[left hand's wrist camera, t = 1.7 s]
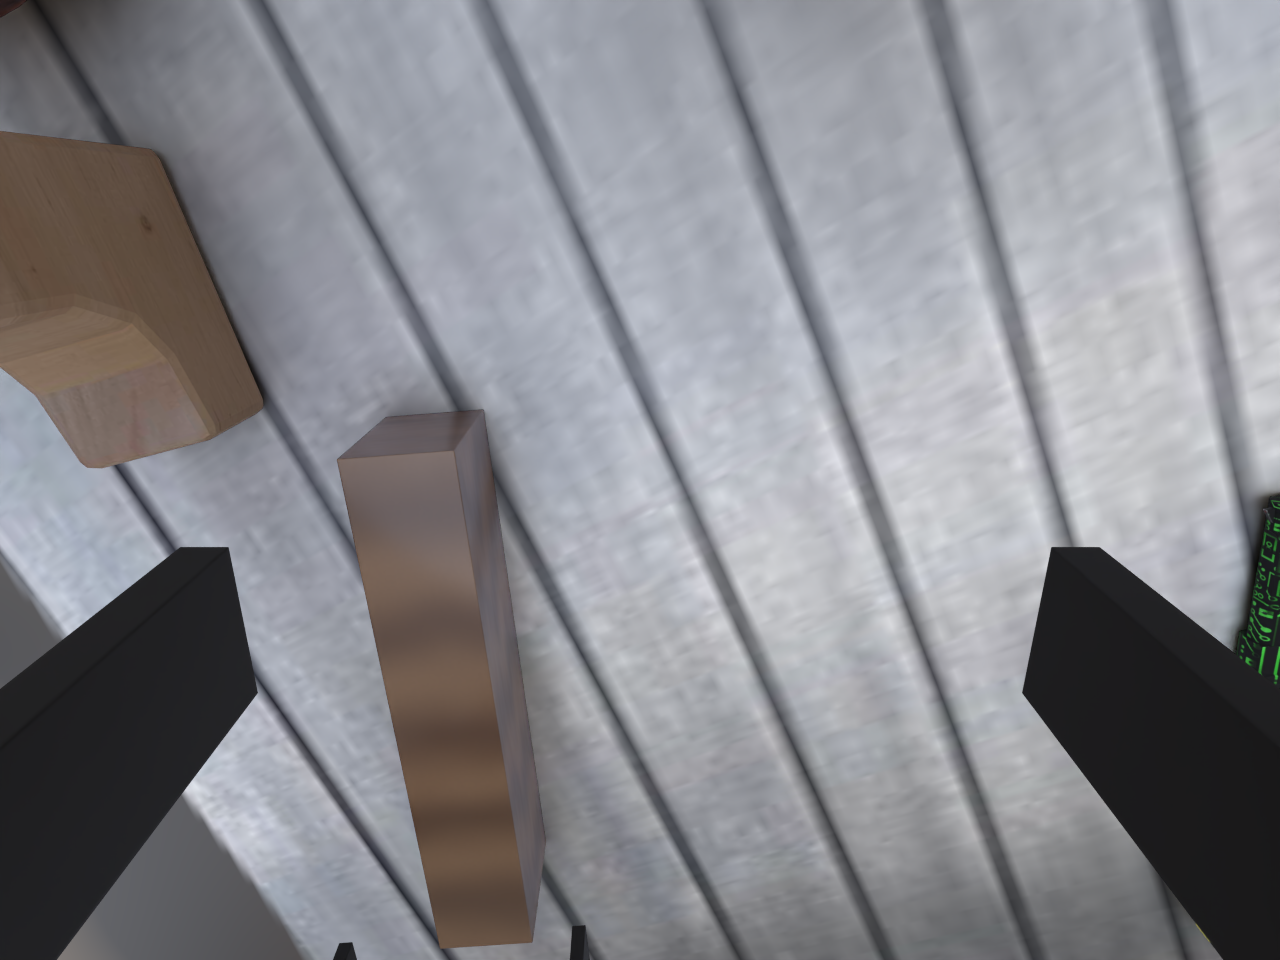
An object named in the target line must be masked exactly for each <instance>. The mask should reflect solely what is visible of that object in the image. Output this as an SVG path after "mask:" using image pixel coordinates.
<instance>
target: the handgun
mask: <svg viewBox="0 0 1280 960" xmlns="http://www.w3.org/2000/svg"><path fill="white" fill-rule="evenodd" d="M1263 511H1264V513H1265V515H1266V521H1265V527H1264V534H1263V540H1262V545H1261V551H1260V557H1259V562H1258V568H1257V573H1256V579H1255V585H1254V590H1253V596H1252V602H1251V608H1250V614H1249V621H1248V627H1247V630H1243V631H1240V632H1239V639H1238V645H1237V652H1236V655H1237V656H1238V657H1240V658H1241V659H1242V660H1244V661H1245V662H1246V663H1247V664H1249V665H1250V666H1251V667H1252V668H1254V669H1255V670H1256V671H1257V672H1259V673H1260V674H1261V675H1263V676H1264V677H1265V678H1266V679H1268V680H1269V681H1270V682H1271V683H1273V684H1274V685H1275V686H1277V687H1278V688H1279V689H1280V495H1277V496H1274V497H1272V496H1270V498H1269V503H1268V508H1265V509H1263Z"/></svg>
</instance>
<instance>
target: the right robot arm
mask: <svg viewBox="0 0 1280 960" xmlns="http://www.w3.org/2000/svg"><path fill="white" fill-rule="evenodd" d="M333 960H357V958H356V955H355V951H354V947H353V943H352V942H350V943H339V946H338V948H337V951H336V953H335V956H334V959H333ZM570 960H590V958H589V950H588V942H587V935H586V927H585V925H584V926H572V939H571V953H570Z"/></svg>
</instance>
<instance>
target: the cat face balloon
mask: <svg viewBox="0 0 1280 960" xmlns="http://www.w3.org/2000/svg"><path fill="white" fill-rule="evenodd" d="M26 1H27V0H0V18H1V17H2V16H4V15H6V14H8V13H9V12H11V11H13V10H14V9H16V8H18V7H19V6H20V5H22V4H23V3H24V2H26Z"/></svg>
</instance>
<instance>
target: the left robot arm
mask: <svg viewBox="0 0 1280 960" xmlns="http://www.w3.org/2000/svg"><path fill="white" fill-rule="evenodd" d="M257 693H258V692H257V687H256V682H255V677H254V672H253V667H252V662H251V657H250V652H249V647H248V642H247V637H246V632H245V627H244V622H243V617H242V612H241V607H240V602H239V597H238V592H237V587H236V582H235V577H234V572H233V567H232V562H231V557H230V552H229V547H180V548H179V549H178V550H176V551H175V552H174V553H172V554H171V555H170V556H169V557H167V558H166V559H165V560H164V561H162V562H161V563H160V564H159V565H157V566H156V567H155V568H153V569H152V570H151V571H150V572H148V573H147V574H146V575H145V576H143V577H142V578H141V579H139V580H138V581H137V582H136V583H134V584H133V585H132V586H131V587H129V588H128V589H127V590H125V591H124V592H123V593H122V594H120V595H119V596H118V597H117V598H115V599H114V600H113V601H111V602H110V603H109V604H108V605H106V606H105V607H104V608H103V609H101V610H100V611H99V612H98V613H96V614H95V615H94V616H92V617H91V618H90V619H89V620H87V621H86V622H85V623H84V624H82V625H81V626H80V627H78V628H77V629H76V630H75V631H73V632H72V633H71V634H70V635H68V636H67V637H66V638H64V639H63V640H62V641H61V642H59V643H58V644H57V645H56V646H54V647H53V648H52V649H50V650H49V651H48V652H47V653H45V654H44V655H43V656H42V657H40V658H39V659H38V660H36V661H35V662H34V663H33V664H31V665H30V666H29V667H28V668H26V669H25V670H24V671H23V672H21V673H20V674H19V675H17V676H16V677H15V678H14V679H12V680H11V681H10V682H9V683H7V684H6V685H5V686H3V687H2V688H1V689H0V960H57V959H58V957H59V956H60V955H61V953H62V952H63V951H64V949H65V948H66V947H67V945H68V944H69V943H70V941H71V940H72V939H73V937H74V936H75V935H76V933H77V932H78V931H79V929H80V928H81V927H82V925H83V924H84V923H85V921H86V920H87V919H88V917H89V916H90V915H91V914H92V912H93V911H94V910H95V908H96V907H97V906H98V904H99V903H100V902H101V900H102V899H103V898H104V896H105V895H106V894H107V892H108V891H109V890H110V888H111V887H112V886H113V884H114V883H115V882H116V880H117V879H118V878H119V876H120V875H121V874H122V872H123V871H124V870H125V868H126V867H127V866H128V864H129V863H130V862H131V860H132V859H133V858H134V856H135V855H136V854H137V852H138V851H139V850H140V848H141V847H142V846H143V844H144V843H145V842H146V841H147V839H148V838H149V837H150V835H151V834H152V833H153V831H154V830H155V829H156V827H157V826H158V825H159V823H160V822H161V821H162V819H163V818H164V817H165V815H166V814H167V813H168V811H169V810H170V809H171V807H172V806H173V805H174V803H175V802H176V801H177V799H178V798H179V797H180V795H181V794H182V793H183V791H184V790H185V789H186V787H187V786H188V785H189V783H190V782H191V781H192V780H193V778H194V777H195V776H196V774H197V773H198V772H199V770H200V769H201V768H202V766H203V765H204V764H205V762H206V761H207V760H208V758H209V757H210V756H211V754H212V753H213V752H214V750H215V749H216V748H217V746H218V745H219V744H220V742H221V741H222V740H223V738H224V737H225V736H226V734H227V733H228V732H229V730H230V729H231V728H232V726H233V725H234V724H235V722H236V721H237V720H238V718H239V717H240V716H241V714H242V713H243V712H244V711H245V709H246V708H247V707H248V705H249V704H250V703H251V701H252V700H253V699H254V697H255V696H256V695H257ZM1022 693H1023V695H1024V696H1025V697H1026V699H1027V700H1028V701H1029V703H1030V704H1031V705H1032V707H1033V708H1034V709H1035V711H1036V712H1037V713H1038V714H1039V716H1040V717H1041V718H1042V720H1043V721H1044V722H1045V724H1046V725H1047V726H1048V728H1049V729H1050V730H1051V732H1052V733H1053V734H1054V736H1055V737H1056V738H1057V740H1058V741H1059V742H1060V744H1061V745H1062V746H1063V748H1064V749H1065V750H1066V752H1067V753H1068V754H1069V756H1070V757H1071V758H1072V760H1073V761H1074V762H1075V764H1076V765H1077V766H1078V768H1079V769H1080V770H1081V772H1082V773H1083V774H1084V776H1085V777H1086V778H1087V780H1088V781H1089V782H1090V783H1091V785H1092V786H1093V787H1094V789H1095V790H1096V791H1097V793H1098V794H1099V795H1100V797H1101V798H1102V799H1103V801H1104V802H1105V803H1106V805H1107V806H1108V807H1109V809H1110V810H1111V811H1112V813H1113V814H1114V815H1115V817H1116V818H1117V819H1118V821H1119V822H1120V823H1121V825H1122V826H1123V827H1124V829H1125V830H1126V831H1127V833H1128V834H1129V835H1130V837H1131V838H1132V839H1133V841H1134V842H1135V843H1136V845H1137V846H1138V847H1139V849H1140V850H1141V851H1142V852H1143V854H1144V855H1145V856H1146V858H1147V859H1148V860H1149V862H1150V863H1151V864H1152V866H1153V867H1154V868H1155V870H1156V871H1157V872H1158V874H1159V875H1160V876H1161V878H1162V879H1163V880H1164V882H1165V883H1166V884H1167V886H1168V887H1169V888H1170V890H1171V891H1172V892H1173V894H1174V895H1175V896H1176V898H1177V899H1178V900H1179V902H1180V903H1181V904H1182V906H1183V907H1184V908H1185V910H1186V911H1187V912H1188V914H1189V915H1190V916H1191V918H1192V919H1193V920H1194V921H1195V923H1196V924H1197V925H1198V927H1199V928H1200V929H1201V931H1202V932H1203V933H1204V935H1205V936H1206V937H1207V939H1208V940H1209V941H1210V943H1211V944H1212V945H1213V947H1214V948H1215V949H1216V951H1217V952H1218V953H1219V955H1220V956H1221V957H1222V959H1223V960H1280V689H1279V688H1278V687H1277V686H1275V685H1274V684H1273V683H1271V682H1270V681H1269V680H1268V679H1266V678H1265V677H1264V676H1263V675H1261V674H1260V673H1259V672H1257V671H1256V670H1255V669H1254V668H1252V667H1251V666H1250V665H1249V664H1247V663H1246V662H1245V661H1244V660H1242V659H1241V658H1240V657H1238V656H1237V655H1236V654H1235V653H1233V652H1232V651H1231V650H1230V649H1228V648H1227V647H1226V646H1224V645H1223V644H1222V643H1221V642H1219V641H1218V640H1217V639H1216V638H1214V637H1213V636H1212V635H1210V634H1209V633H1208V632H1207V631H1205V630H1204V629H1203V628H1202V627H1200V626H1199V625H1198V624H1196V623H1195V622H1194V621H1193V620H1191V619H1190V618H1189V617H1188V616H1186V615H1185V614H1184V613H1182V612H1181V611H1180V610H1179V609H1177V608H1176V607H1175V606H1174V605H1172V604H1171V603H1170V602H1169V601H1167V600H1166V599H1165V598H1163V597H1162V596H1161V595H1160V594H1158V593H1157V592H1156V591H1155V590H1153V589H1152V588H1151V587H1149V586H1148V585H1147V584H1146V583H1144V582H1143V581H1142V580H1141V579H1139V578H1138V577H1137V576H1135V575H1134V574H1133V573H1132V572H1130V571H1129V570H1128V569H1127V568H1125V567H1124V566H1123V565H1121V564H1120V563H1119V562H1118V561H1116V560H1115V559H1114V558H1113V557H1111V556H1110V555H1109V554H1108V553H1106V552H1105V551H1104V550H1102V549H1101V548H1100V547H1051V552H1050V557H1049V562H1048V567H1047V572H1046V577H1045V582H1044V587H1043V592H1042V597H1041V602H1040V607H1039V612H1038V617H1037V622H1036V627H1035V632H1034V637H1033V642H1032V647H1031V652H1030V657H1029V662H1028V667H1027V672H1026V677H1025V682H1024V687H1023V692H1022Z"/></svg>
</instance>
